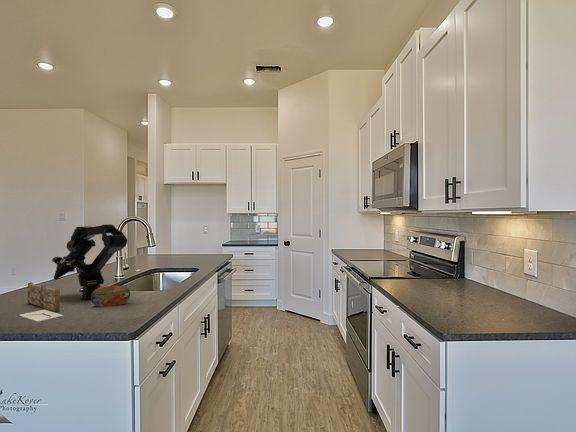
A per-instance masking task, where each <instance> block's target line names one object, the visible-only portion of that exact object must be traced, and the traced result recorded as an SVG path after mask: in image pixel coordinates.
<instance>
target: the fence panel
mask: <svg viewBox="0 0 576 432" xmlns="http://www.w3.org/2000/svg"><path fill="white" fill-rule="evenodd" d="M41 286H42V285H38V284H34V283H33V282H28V283H27V304H32V305H35V306H38V307H41Z"/></svg>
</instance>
